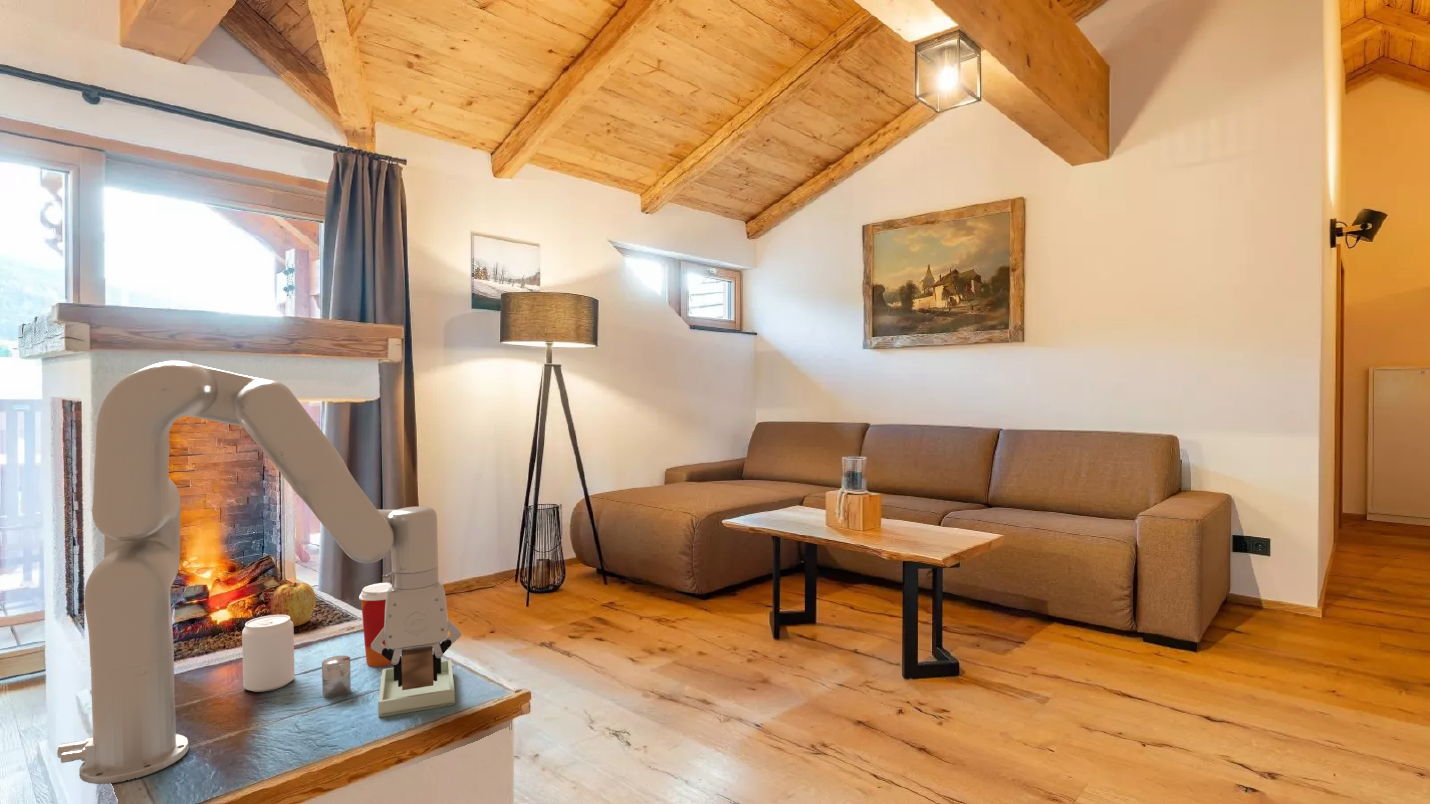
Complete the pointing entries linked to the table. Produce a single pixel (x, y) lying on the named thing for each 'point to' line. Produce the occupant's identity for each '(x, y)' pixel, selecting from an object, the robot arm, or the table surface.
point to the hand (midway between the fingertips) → (418, 679)
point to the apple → (294, 602)
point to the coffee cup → (374, 620)
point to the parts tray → (415, 693)
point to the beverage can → (268, 653)
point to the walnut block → (417, 667)
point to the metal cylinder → (336, 677)
